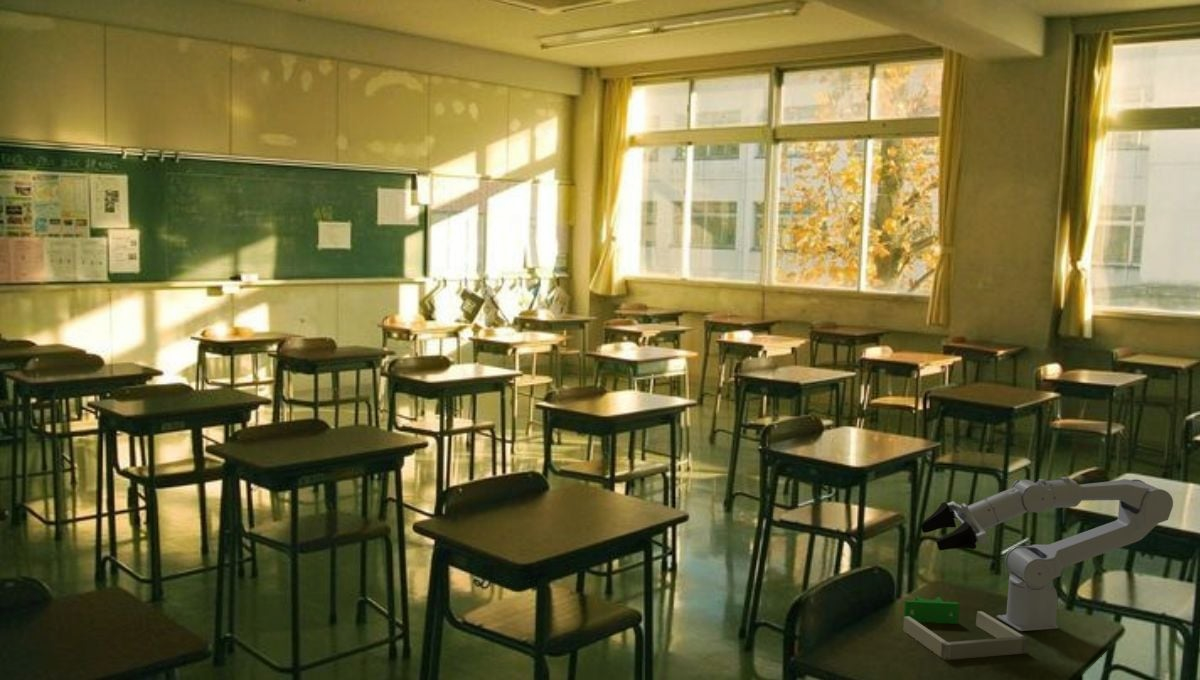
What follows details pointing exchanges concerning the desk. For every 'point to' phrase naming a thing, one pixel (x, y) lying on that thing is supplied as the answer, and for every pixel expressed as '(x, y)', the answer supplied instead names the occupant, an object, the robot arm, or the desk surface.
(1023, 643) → the docking bay
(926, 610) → the green flat block
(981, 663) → the desk surface
